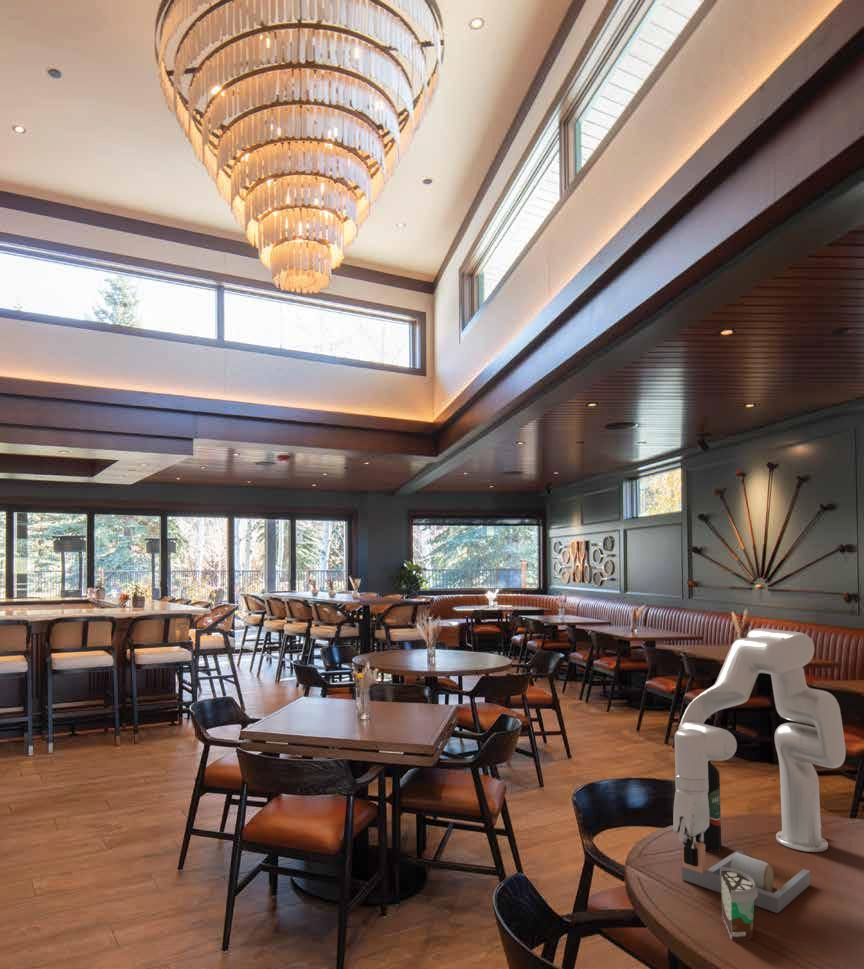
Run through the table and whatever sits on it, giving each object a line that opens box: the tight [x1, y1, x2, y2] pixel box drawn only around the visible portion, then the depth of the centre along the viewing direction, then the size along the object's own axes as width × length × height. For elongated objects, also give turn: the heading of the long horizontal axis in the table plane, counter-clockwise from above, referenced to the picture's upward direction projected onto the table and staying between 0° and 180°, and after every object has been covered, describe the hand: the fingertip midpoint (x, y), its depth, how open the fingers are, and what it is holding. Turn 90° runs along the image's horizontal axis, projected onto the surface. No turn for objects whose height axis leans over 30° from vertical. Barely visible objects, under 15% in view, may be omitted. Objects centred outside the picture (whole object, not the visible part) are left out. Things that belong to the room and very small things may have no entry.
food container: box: [720, 867, 758, 941], centre depth 148 cm, size 12×6×10 cm, turn 168°
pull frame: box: [680, 841, 812, 914], centre depth 170 cm, size 20×22×9 cm
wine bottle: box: [703, 760, 722, 852], centre depth 193 cm, size 8×8×30 cm
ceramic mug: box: [730, 853, 775, 893], centre depth 167 cm, size 11×8×8 cm
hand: (693, 862), depth 170 cm, fingers closed on pull frame, 2 cm apart
